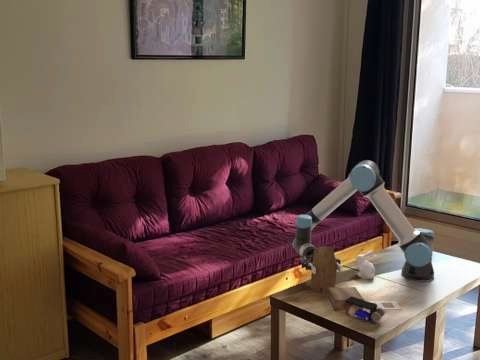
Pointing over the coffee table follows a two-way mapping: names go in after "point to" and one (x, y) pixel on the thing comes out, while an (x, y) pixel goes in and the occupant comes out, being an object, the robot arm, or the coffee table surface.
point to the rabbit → (365, 266)
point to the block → (323, 269)
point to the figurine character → (354, 311)
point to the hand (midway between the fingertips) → (327, 270)
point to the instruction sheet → (386, 305)
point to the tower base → (342, 297)
